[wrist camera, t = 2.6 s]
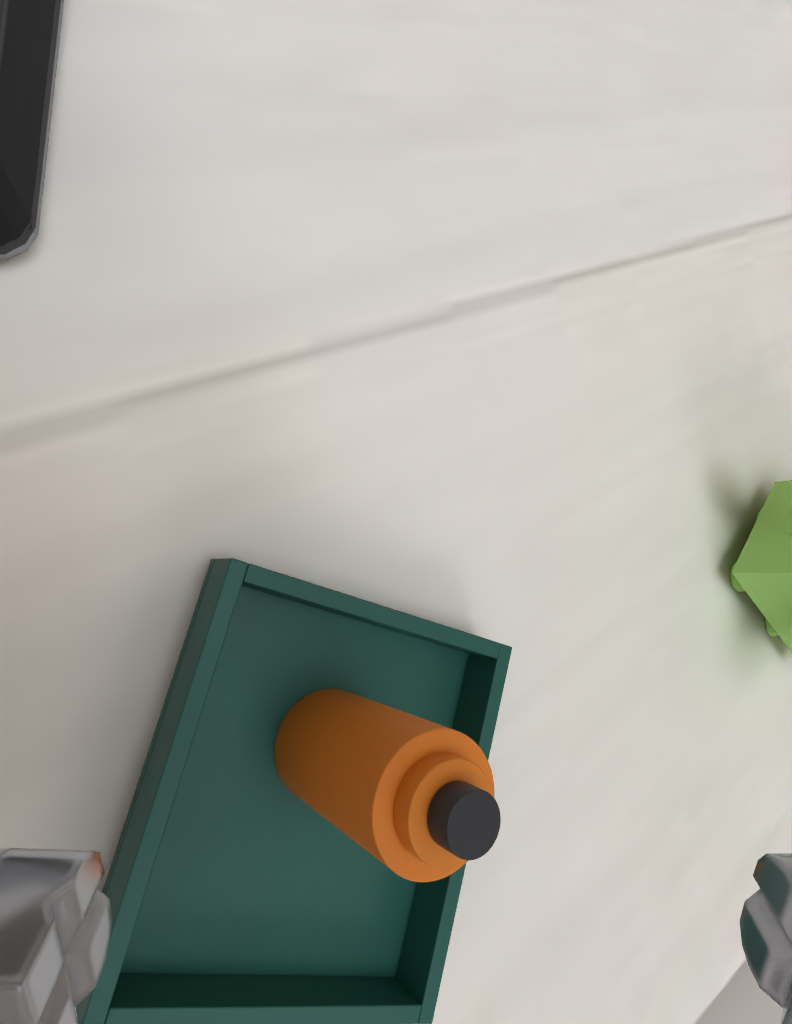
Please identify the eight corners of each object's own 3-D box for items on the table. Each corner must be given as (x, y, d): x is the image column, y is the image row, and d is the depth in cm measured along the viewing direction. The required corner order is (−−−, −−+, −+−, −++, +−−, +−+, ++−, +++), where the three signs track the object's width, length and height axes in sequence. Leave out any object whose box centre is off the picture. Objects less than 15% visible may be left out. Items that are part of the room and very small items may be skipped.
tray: (71, 986, 26) (78, 1033, 24) (211, 558, 30) (231, 557, 28) (397, 987, 33) (432, 1024, 31) (476, 641, 37) (512, 647, 35)
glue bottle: (259, 793, 30) (387, 906, 20) (292, 677, 31) (429, 729, 21) (358, 807, 32) (517, 915, 22) (385, 700, 34) (548, 756, 23)
